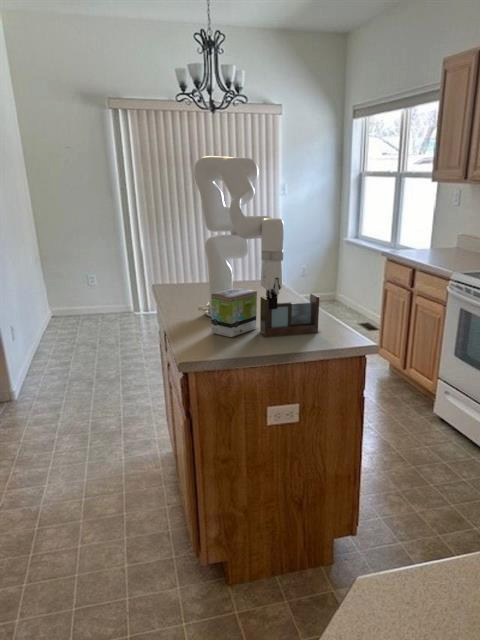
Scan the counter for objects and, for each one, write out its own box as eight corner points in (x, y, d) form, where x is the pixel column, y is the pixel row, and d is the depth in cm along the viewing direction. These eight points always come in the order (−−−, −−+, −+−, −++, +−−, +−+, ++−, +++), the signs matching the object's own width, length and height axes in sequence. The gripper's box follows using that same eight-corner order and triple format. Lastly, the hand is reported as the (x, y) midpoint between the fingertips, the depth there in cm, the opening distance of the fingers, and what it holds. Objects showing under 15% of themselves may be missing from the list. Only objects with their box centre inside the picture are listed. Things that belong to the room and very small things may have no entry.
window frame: (265, 336, 192) (265, 299, 187) (260, 332, 197) (260, 296, 192) (317, 332, 198) (319, 296, 193) (311, 328, 204) (313, 293, 199)
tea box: (233, 338, 189) (232, 297, 184) (211, 333, 194) (209, 293, 188) (257, 328, 201) (257, 289, 196) (236, 324, 206) (235, 286, 200)
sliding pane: (268, 331, 192) (269, 293, 187) (267, 330, 194) (267, 292, 188) (291, 329, 195) (292, 292, 190) (289, 328, 196) (290, 291, 191)
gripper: (255, 252, 189) (255, 303, 196) (269, 259, 175) (268, 314, 182) (275, 252, 191) (274, 302, 198) (290, 258, 178) (289, 312, 185)
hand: (271, 307), depth 190 cm, fingers closed on sliding pane
